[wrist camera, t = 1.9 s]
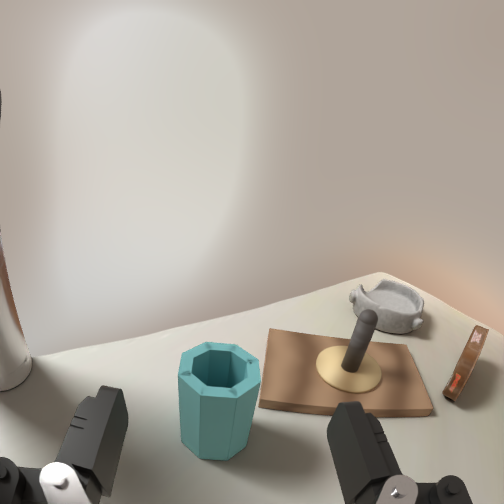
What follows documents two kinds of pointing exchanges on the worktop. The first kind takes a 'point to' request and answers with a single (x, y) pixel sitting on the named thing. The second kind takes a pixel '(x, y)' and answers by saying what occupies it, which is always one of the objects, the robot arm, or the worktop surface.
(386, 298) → the dish
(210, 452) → the collar
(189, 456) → the worktop surface
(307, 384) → the post stand
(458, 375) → the tin
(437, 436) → the worktop surface
